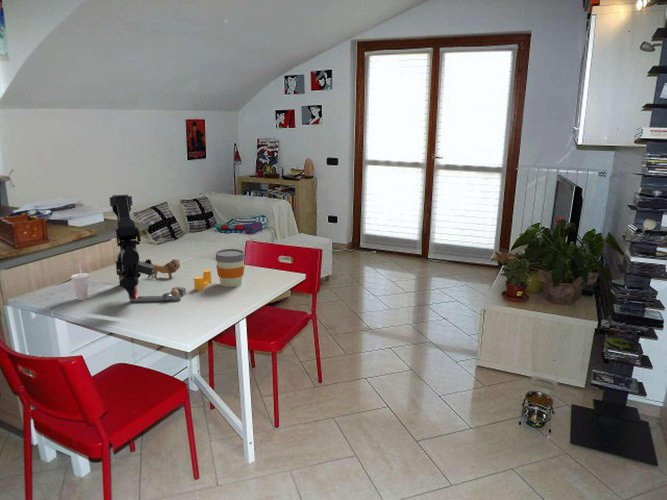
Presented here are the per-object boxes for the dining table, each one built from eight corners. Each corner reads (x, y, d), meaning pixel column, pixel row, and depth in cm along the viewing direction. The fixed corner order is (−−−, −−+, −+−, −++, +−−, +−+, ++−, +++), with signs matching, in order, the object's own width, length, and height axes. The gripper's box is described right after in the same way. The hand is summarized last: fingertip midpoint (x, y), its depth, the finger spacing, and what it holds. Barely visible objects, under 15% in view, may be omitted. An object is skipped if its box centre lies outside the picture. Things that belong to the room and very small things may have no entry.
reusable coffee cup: (225, 292, 211) (224, 258, 207) (211, 284, 220) (209, 251, 216) (251, 286, 219) (250, 253, 215) (236, 279, 228) (235, 247, 224)
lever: (128, 303, 194) (126, 283, 191) (130, 299, 197) (128, 280, 195) (180, 301, 196) (178, 282, 194) (181, 298, 200) (180, 279, 198)
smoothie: (95, 297, 203) (91, 263, 199) (82, 302, 197) (78, 268, 193) (82, 294, 205) (78, 262, 201) (69, 300, 199) (65, 266, 195)
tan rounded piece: (168, 298, 200) (168, 290, 199) (173, 295, 203) (173, 287, 202) (176, 299, 199) (175, 291, 198) (181, 296, 202) (180, 288, 201)
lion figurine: (181, 276, 231) (179, 257, 228) (180, 279, 226) (179, 260, 223) (147, 277, 227) (145, 258, 225) (146, 281, 222) (144, 262, 220)
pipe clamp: (202, 283, 222) (201, 269, 220) (211, 284, 221) (210, 270, 219) (190, 292, 210) (190, 278, 209) (200, 293, 210) (200, 278, 208)
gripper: (149, 263, 183) (153, 302, 188) (153, 248, 200) (156, 285, 205) (117, 265, 180) (121, 305, 185) (123, 250, 198) (127, 287, 202)
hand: (133, 295), depth 194 cm, fingers open, 4 cm apart
